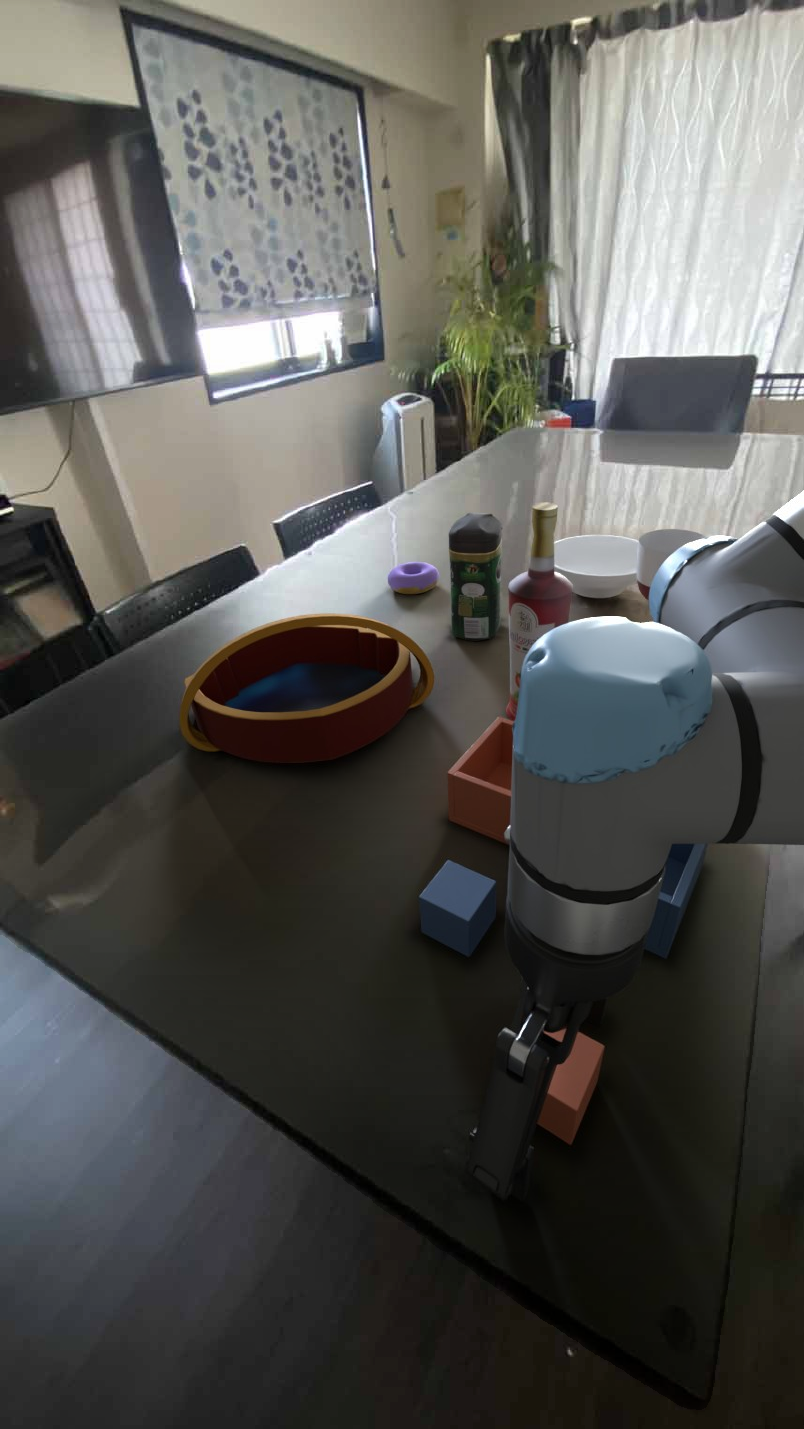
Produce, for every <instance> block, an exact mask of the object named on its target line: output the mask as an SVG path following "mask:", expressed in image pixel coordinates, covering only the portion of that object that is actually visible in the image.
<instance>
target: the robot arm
mask: <svg viewBox="0 0 804 1429" xmlns="http://www.w3.org/2000/svg"><path fill="white" fill-rule="evenodd" d="M648 608H649V614H650V616H651V619H652V621H649V622H648V621H647V622H641V623H640V622H636V621H635V622H634V621H631V620H630V619H628V618H627V617H625V616H596V617H595V616H594V617H587V618H586V617H585V618H581V619H577V620H573V621H568V623H566V624H563V625H561V626H559V627H556V628H554V629H553V630H551V631H549V632H547V633H546V634H544V635H543V636H542V637H541V638H539V639H538V640H537V641H536V642H535V643H534V645H533V646H532V647H531V648H530V650H529V652H528V653H527V655H526V657H525V659H524V662H523V666H522V670H521V679H520V688H519V697H518V706H517V714H516V718H515V720H514V723H513V726H512V731H513V752H512V785H511V818H510V826H509V827H508V828H507V829H506V831H505V832H504V839H505V841H507V842H508V843H510V845H509V853H508V854H509V855H508V870H507V871H508V872H507V892H506V897H505V913H504V914H505V916H504V917H505V918H504V942H505V947H506V951H507V954H508V956H509V958H510V960H511V962H512V963H513V965H514V967H515V968H516V970H517V971H518V974H519V975H520V976H521V982H520V984H519V985H520V986H519V991H520V995H521V996H520V999H519V1002H518V1004H517V1008H516V1010H515V1013H514V1017H513V1019H512V1022H511V1026H510V1029H509V1028H508V1027H507V1026H505V1027H504V1028H502V1030H501V1031H500V1032H499V1033H498V1035H497V1038H496V1044H495V1052H494V1060H493V1067H492V1071H491V1075H490V1079H489V1082H488V1086H487V1089H486V1093H485V1097H484V1100H483V1104H482V1107H481V1111H480V1115H479V1117H478V1118H479V1119H478V1123H477V1125H476V1126H475V1128H473V1130H472V1131H471V1132H470V1133H469V1137H468V1140H469V1141H470V1142H471V1143H472V1144H471V1148H470V1152H469V1155H468V1157H467V1159H466V1163H465V1169H464V1173H465V1174H466V1175H468V1176H469V1177H470V1178H472V1179H473V1180H474V1181H476V1182H477V1183H478V1184H480V1185H481V1186H483V1187H484V1188H485V1189H487V1190H488V1191H489V1192H491V1193H492V1194H493V1195H495V1196H497V1197H498V1198H499V1199H501V1200H502V1201H503V1202H504V1201H506V1200H507V1199H508V1197H509V1196H511V1195H512V1196H513V1197H515V1198H516V1199H517V1200H519V1201H520V1202H522V1203H524V1201H525V1199H526V1196H527V1194H528V1193H529V1188H530V1180H531V1172H532V1164H533V1158H534V1156H533V1155H534V1150H535V1147H534V1146H532V1145H531V1143H532V1140H533V1138H534V1134H535V1131H536V1128H537V1125H538V1124H537V1122H538V1119H539V1117H540V1114H541V1111H542V1108H543V1105H544V1102H545V1099H546V1096H547V1093H548V1090H549V1087H550V1084H551V1081H552V1078H553V1075H554V1072H555V1069H556V1066H557V1065H559V1064H563V1063H564V1062H565V1061H566V1059H567V1058H568V1057H569V1055H570V1054H571V1051H572V1048H573V1045H574V1042H575V1039H576V1036H577V1033H578V1032H579V1030H580V1027H581V1024H582V1023H584V1021H585V1022H588V1023H590V1024H591V1025H593V1026H595V1027H597V1028H598V1029H600V1027H601V1025H602V1023H603V1020H604V1017H605V1012H606V1008H607V1007H606V1006H607V1002H608V999H610V998H611V997H614V996H616V995H618V994H619V993H621V992H622V991H623V990H624V989H626V988H627V987H628V986H629V985H631V983H632V981H633V980H634V979H635V977H636V975H637V974H638V972H639V969H640V966H641V963H642V959H643V955H644V952H645V949H644V948H645V944H646V940H647V936H648V932H649V928H650V925H651V923H652V920H653V917H654V913H655V909H656V906H657V902H658V898H659V894H660V890H661V886H662V882H663V878H664V874H665V867H666V863H667V859H668V854H669V852H670V849H671V846H672V844H708V845H716V844H720V845H721V844H726V845H732V844H733V845H780V846H781V845H783V846H784V845H785V846H786V845H787V846H804V490H803V491H802V492H800V493H799V494H798V495H796V496H795V497H794V498H793V499H791V500H790V501H789V502H787V503H786V504H785V505H783V506H782V507H781V508H780V509H778V510H777V511H775V512H774V513H773V514H772V515H770V516H769V517H767V518H766V519H765V520H763V521H762V522H761V523H759V524H758V525H756V526H755V527H753V528H752V529H750V530H749V531H748V532H747V533H745V534H744V535H743V536H741V537H740V538H737V537H734V536H730V535H729V536H727V535H712V536H709V537H708V536H707V537H706V538H703V539H700V540H697V541H694V542H690V543H688V544H686V545H684V546H682V547H681V548H679V549H678V550H676V551H675V552H674V553H673V554H671V555H670V556H669V557H668V558H667V559H666V560H665V561H664V563H663V564H662V565H661V567H660V568H659V570H658V571H657V573H656V575H655V577H654V579H653V581H652V584H651V587H650V592H649V601H648ZM564 1029H566V1031H565V1034H564V1037H563V1040H562V1042H560V1041H558V1040H556V1039H554V1038H552V1037H551V1036H549V1035H547V1034H545V1033H544V1032H545V1031H546V1032H548V1033H555V1032H558V1031H561V1030H564Z"/></svg>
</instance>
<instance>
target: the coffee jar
mask: <svg viewBox="0 0 804 1429" xmlns="http://www.w3.org/2000/svg"><path fill="white" fill-rule="evenodd" d="M502 526H503V525H502V522H501V521H500V519H499V518H498V517H496V516H495V515H494V514H493V513H489V512H467V513H465V515H463V516H461V517H460V518H459V519H457V520H456V521H455V522H454V523H453V524H452V526H451V527H450V529H449V531H448V556H449V574H450V575H449V578H450V579H449V580H450V619H451V620H450V622H451V623H450V624H451V626H450V628H451V633H452V635H453V636H454V637H456V638H459V639H462V640H465V641H471V642H479V641H483V640H489V639H492V638H494V637H495V635H496V634H497V632H498V631H499V629H500V626H501V622H502V545H503V544H502V542H503V527H502Z"/></svg>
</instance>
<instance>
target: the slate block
mask: <svg viewBox="0 0 804 1429" xmlns="http://www.w3.org/2000/svg"><path fill="white" fill-rule="evenodd" d="M418 903H419V915H420V916H419V917H420V929H421V933H422V934H424V935H426V936H428V937H430V938H431V939H433V940H435V941H437V942H439V943H441V944H443V945H444V946H447V947H449V948H451V949H452V950H454V951H455V952H458V953H460V954H461V955H463V956H465V957H468V958H470V957H471V956H472V954H473V952H474V951H475V949H476V948H477V946H479V943H480V942H481V940H482V939H483V937H484V936H485V934H486V933H487V931H488V930H489V928H490V927H491V925H492V924H493V922H494V921H495V919H496V914H497V913H496V911H497V881H496V880H495V879H491V878H490V877H488V876H485V875H483V874H480V873H479V872H476V871H475V870H472V869H469V868H467V867H465V866H463V865H461V864H458V863H456V862H454V861H452V860H450V859H448V860H446V861H445V863H444V864H443V866H441V868H440V869H439V871H438V872H437V873H436V874H435V875H434V877H433V878H432V879H431V881H429V883H428V884H427V886H426V887H425V888H424V890H423V891H422V892H421V894H419V896H418Z"/></svg>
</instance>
